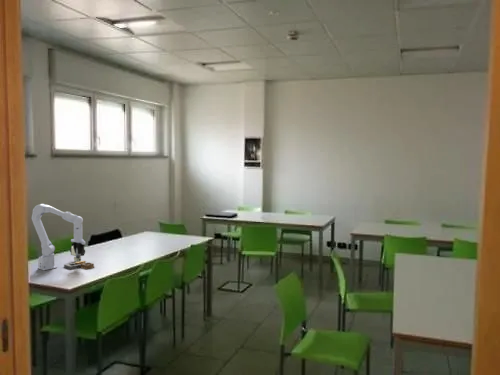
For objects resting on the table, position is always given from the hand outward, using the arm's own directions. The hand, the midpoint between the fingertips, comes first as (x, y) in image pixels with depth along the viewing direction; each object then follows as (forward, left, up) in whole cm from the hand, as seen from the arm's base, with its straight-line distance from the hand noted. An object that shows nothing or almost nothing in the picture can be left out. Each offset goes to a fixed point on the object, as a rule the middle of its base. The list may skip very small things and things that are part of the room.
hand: (78, 253), depth 293 cm
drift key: (+3, +3, -10) cm, 11 cm away
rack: (+4, -5, -10) cm, 12 cm away
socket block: (-2, +3, -10) cm, 10 cm away
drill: (0, 0, -3) cm, 3 cm away
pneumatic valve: (+10, +16, -10) cm, 22 cm away
